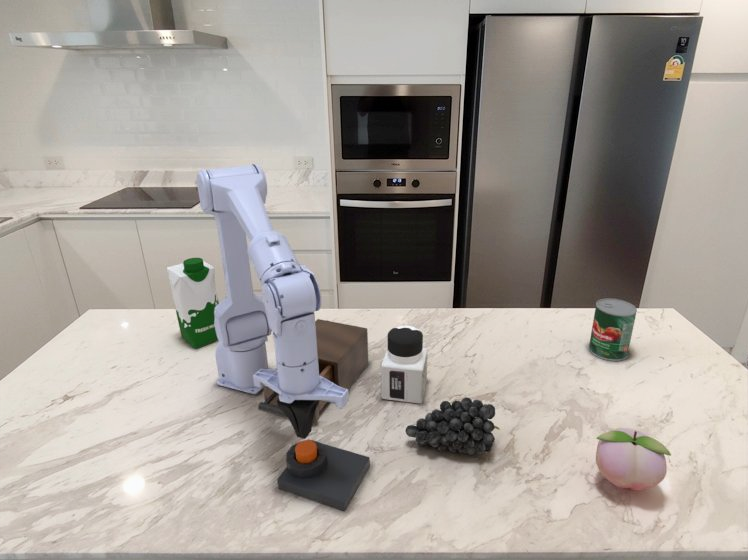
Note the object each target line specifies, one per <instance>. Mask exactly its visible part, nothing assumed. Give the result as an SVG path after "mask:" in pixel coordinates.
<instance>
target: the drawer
mask: <svg viewBox="0 0 748 560" xmlns="http://www.w3.org/2000/svg"><path fill="white" fill-rule="evenodd" d="M318 366H319V375H320V376H322V377H324V378H325V379H327V380H329V381H330V382H332V383H334V384H335V375H334V365H330V364H325V363H321V362H318ZM275 370H277V368H276V369H275ZM262 390H263V396H264V401H260V402H259V403H258V405H257V409H258V411H261V412H263V413H268V414H271V415H276V416H278V417H282V418H285V419H288V417H287V416H286V414H285V413H284V412H283V411H282V410H281V409H280V408H279V407H278V406H277V400H278V399H279V395H280V394H278V393H277V392H275V391H274V390H272V389H271V388H269V387H268V386H264V385H263V389H262ZM327 403H328V402H327V401H323V400H320V402H319V404H318V406H317V409H316V411H315V415H314V418H313V423H317V422H318V421H319V420H320V412H321V411H322V409H323V408H324V407H325V406H326V404H327Z"/></svg>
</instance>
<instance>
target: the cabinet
mask: <svg viewBox="0 0 748 560" xmlns="http://www.w3.org/2000/svg"><path fill="white" fill-rule="evenodd" d="M315 326H316V339H317V352H318V362H321V363H325V364H330V365H334V375H335V384H336V385H337V386H339V387H342V388H345V389H348V391H349V390H350V388H351V387H352V386H353V385H354V383H355V382H356V381H357V379H358V378H359V377H360V375H362V373H363V372H364V370H365V369H366V368H367V366H368V365H369V339H368V338H369V335H368V333H369V332H368V328H367V327H364V326H363V327H362V326H357V325H352V324H347V323H341V322H336V321H332V320H331V321H330V320H326V319H320V318H318V319H315Z"/></svg>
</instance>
